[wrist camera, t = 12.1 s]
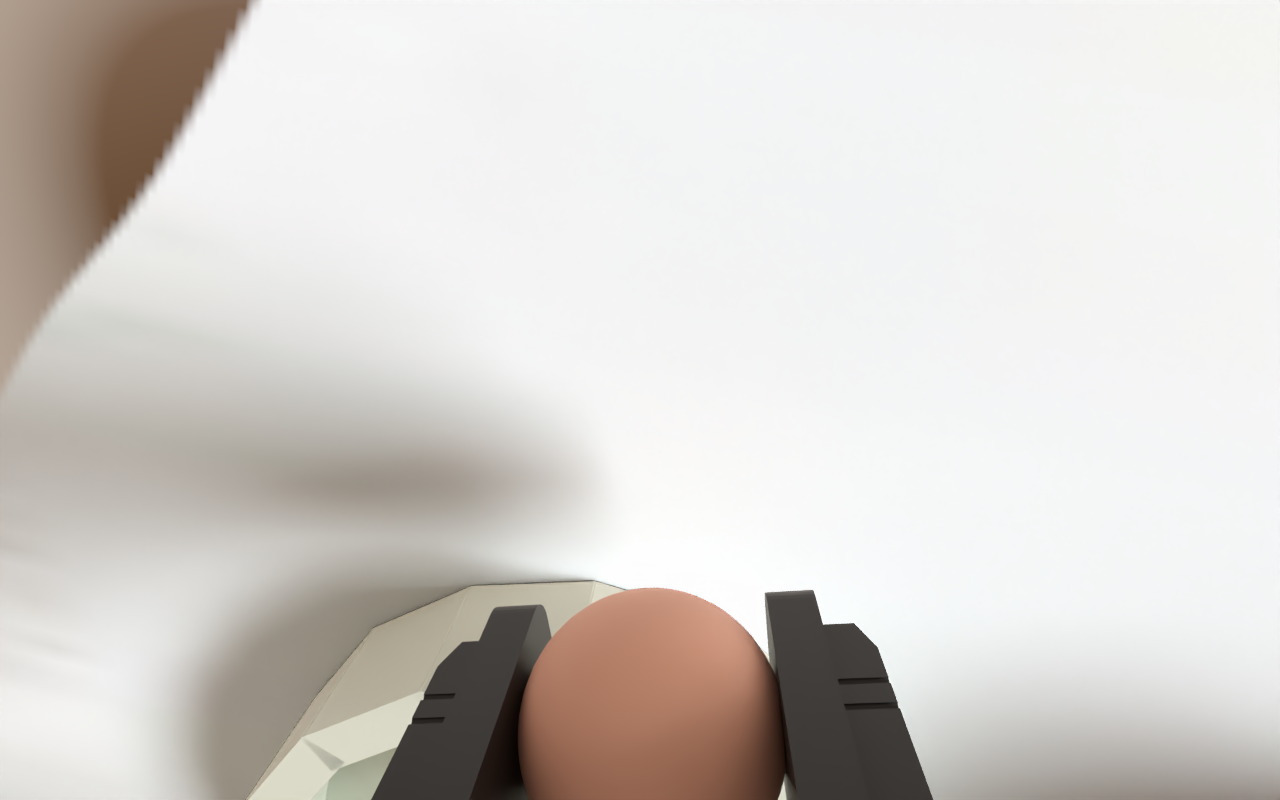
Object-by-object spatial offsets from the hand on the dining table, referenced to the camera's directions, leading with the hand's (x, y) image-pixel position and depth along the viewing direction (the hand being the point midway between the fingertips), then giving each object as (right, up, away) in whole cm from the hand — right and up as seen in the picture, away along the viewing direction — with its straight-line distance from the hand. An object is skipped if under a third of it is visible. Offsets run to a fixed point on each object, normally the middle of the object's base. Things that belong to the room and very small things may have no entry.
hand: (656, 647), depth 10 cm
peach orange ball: (0, 0, 0) cm, 0 cm away
